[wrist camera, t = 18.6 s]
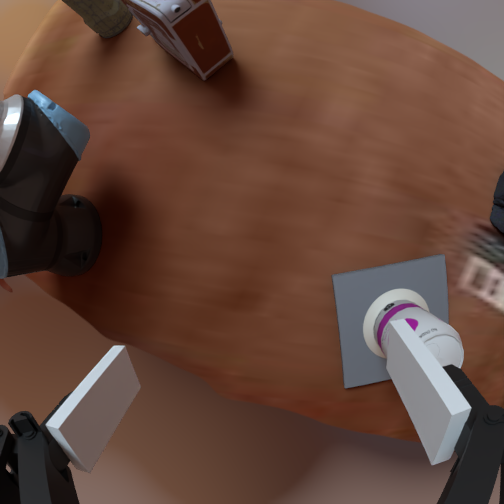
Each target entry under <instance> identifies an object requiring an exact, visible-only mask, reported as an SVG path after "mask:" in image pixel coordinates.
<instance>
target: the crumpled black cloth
mask: <svg viewBox="0 0 504 504" xmlns="http://www.w3.org/2000/svg"><path fill="white" fill-rule="evenodd" d="M493 202H494V205H493V207H492V210H493V211H492V213H491V217H490V219H491V222H492V224H493V225H494V226H495V227H497V228H498V229H499V230H500V231H501V232H503V233H504V172H503V173H502V174H501V176H500V177H499V180H498V183H497V187H496V190H495V193H494V201H493Z"/></svg>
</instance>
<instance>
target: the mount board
mask: <svg viewBox="0 0 504 504" xmlns="http://www.w3.org/2000/svg"><path fill="white" fill-rule="evenodd" d="M332 282H333V289H334V296H335V304H336V312H337V320H338V329H339V338H340V348H341V358H342V369H343V381H344V387H345V388H350V387H355V386H360V385H365V384H370V383H375V382H380V381H384V380H388V379H391V377H390V375H389V373H388V371H387V369H386V366H387V358H386V357H385V355H384V354H383V352H382V351H381V349H380V348H379V346H378V344H377V342H376V340H375V338H374V332H373V327H374V323H375V319H376V317H377V315H378V314H379V312H380V311H381V310H382V309H383V308H384V307H385V306H386V305H387V304H389V303H391V302H393V301H396V300H409V301H411V302H414V303H416V304H417V305H419V306H420V307H422V308H423V309H425V310H427V311H428V312H430V313H431V314H433V315H434V316H436V317H437V318H439V319H441V320H442V321H444V322H445V323H447V324H448V325H449V321H448V291H447V276H446V264H445V255H442V254H439V255H434V256H430V257H425V258H420V259H415V260H410V261H405V262H400V263H394V264H389V265H384V266H379V267H373V268H368V269H362V270H357V271H351V272H346V273H340V274H334V275H332Z"/></svg>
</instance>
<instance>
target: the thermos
mask: <svg viewBox="0 0 504 504" xmlns="http://www.w3.org/2000/svg"><path fill="white" fill-rule="evenodd" d="M62 1H63V2H65V3H66V4H67V5H68V6H69V7H71V8H72V9H73V10H74V11H75V12H76V13H78V14H79V15H80V16H81V17H82V18H83V19H84V22H85V24H87V25H88V26H89V27H90V28H91V29H92V30H94V31H95V32H96V33H99V35H100V36H102V37H103V38H110V37H113V36H115V35H117V34H119V33H120V32H122V31H123V30H124V29H125V28H126V27H127V26H128V25H129V23H130V22H131V19H132V15H133V14H132V13H131V12H130V11H129V10H128V8H127V6H126V5H125V4H124V3H123V2H122V1H121V0H62Z"/></svg>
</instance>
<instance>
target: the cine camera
mask: <svg viewBox="0 0 504 504" xmlns="http://www.w3.org/2000/svg"><path fill="white" fill-rule="evenodd" d="M121 1H122V2H123V3H124V4H125V5H126V6H127V8H128V10H129V11H130V12H131V13H132V14H133V15H134V16H135V18H136V19H137V20H139V21H140V23H141V24H142V25H143V26H144V27H143V26H142V25H139V26H138V27H137V29H139V30H140V31H141V32H142V33H143V34H144V35H145V36H148V35H149V34H150V35H151V36H152V37H153V39H154V40H155V41H156V42H157V43H158V44H159V45H160V46H161V47H162V48H163V49H164V50H165V51H167V52H168V53H169V54H170V55H172V56H173V57H174V58H176V59H177V60H178V61H179V62H181V63H182V64H183V65H184V66H186V67H187V68H188V69H189V70H191V71H192V72H193V73H194V74H196V75H197V76H198V77H199V78H201V79H202V80H206V79H208V78H209V77H210V76H211V75H212V74H214V73H215V72H216V71H217V70H218V69H220V68H221V67H222V66H223V65H224V64H226V63H227V62H228V61H229V60H230V59H232V58H233V51H232V48H231V46H230V43H229V41H228V39H227V36H226V34H225V32H224V29H223V27H222V21H221V20H220V19H219V18H218V16H217V13H216V11H215V9H214V7H213V4H212V2H211V0H121Z"/></svg>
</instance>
